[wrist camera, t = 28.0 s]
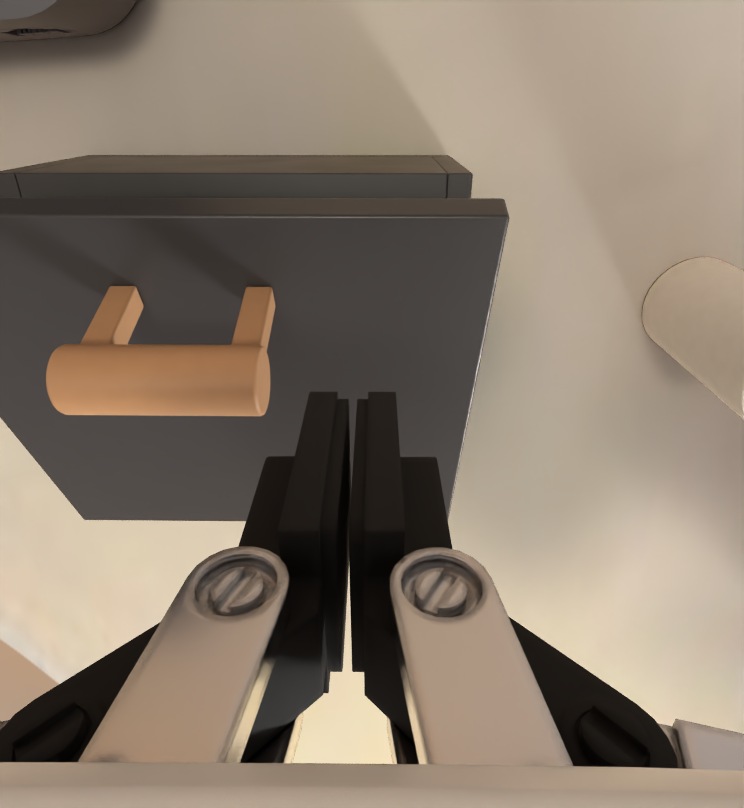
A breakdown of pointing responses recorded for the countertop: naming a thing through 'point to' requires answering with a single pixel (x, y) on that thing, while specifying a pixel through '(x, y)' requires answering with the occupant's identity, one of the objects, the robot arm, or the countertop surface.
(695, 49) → the countertop surface
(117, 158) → the dark open box
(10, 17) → the streaming box
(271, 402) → the lid
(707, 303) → the cream cup
